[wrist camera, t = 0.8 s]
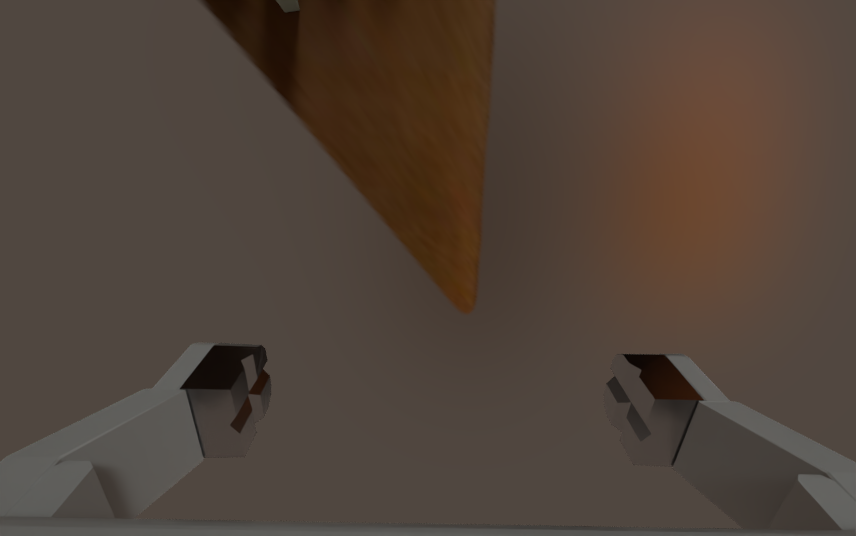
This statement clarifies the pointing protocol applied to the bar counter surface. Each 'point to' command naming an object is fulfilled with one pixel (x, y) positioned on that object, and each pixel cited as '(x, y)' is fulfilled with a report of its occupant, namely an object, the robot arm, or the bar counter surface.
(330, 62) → the bar counter surface
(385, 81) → the bar counter surface
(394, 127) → the bar counter surface
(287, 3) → the domino
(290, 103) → the bar counter surface
